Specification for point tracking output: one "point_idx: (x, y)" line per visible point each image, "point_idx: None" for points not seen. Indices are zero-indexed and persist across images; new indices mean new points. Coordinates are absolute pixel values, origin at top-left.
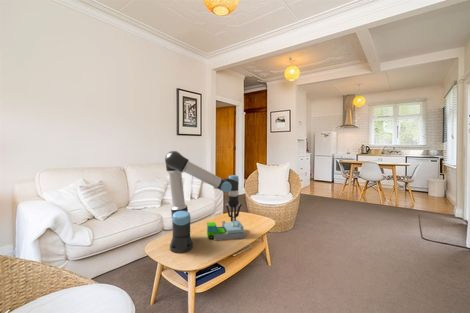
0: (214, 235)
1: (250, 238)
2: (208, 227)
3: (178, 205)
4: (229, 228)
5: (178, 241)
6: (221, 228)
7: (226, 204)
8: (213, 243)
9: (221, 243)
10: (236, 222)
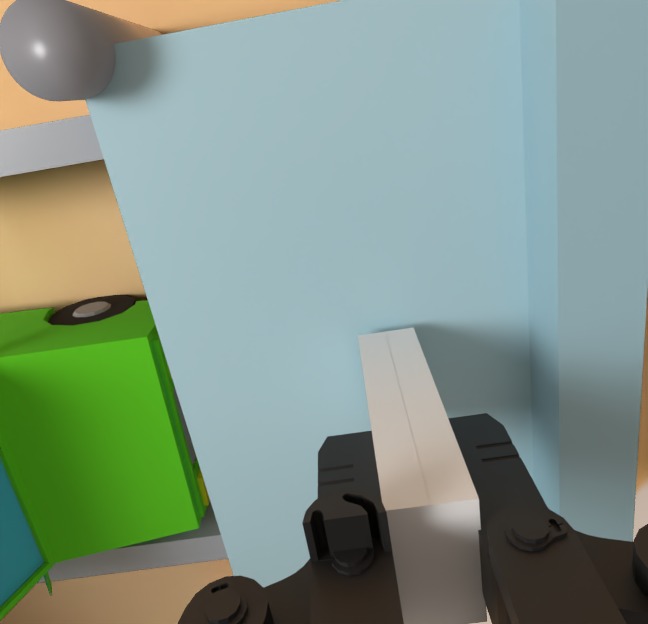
0: None
1: (639, 471)
2: None
3: None
4: (282, 512)
5: None
6: (88, 354)
7: None
8: (63, 595)
9: (176, 598)
10: (535, 152)
